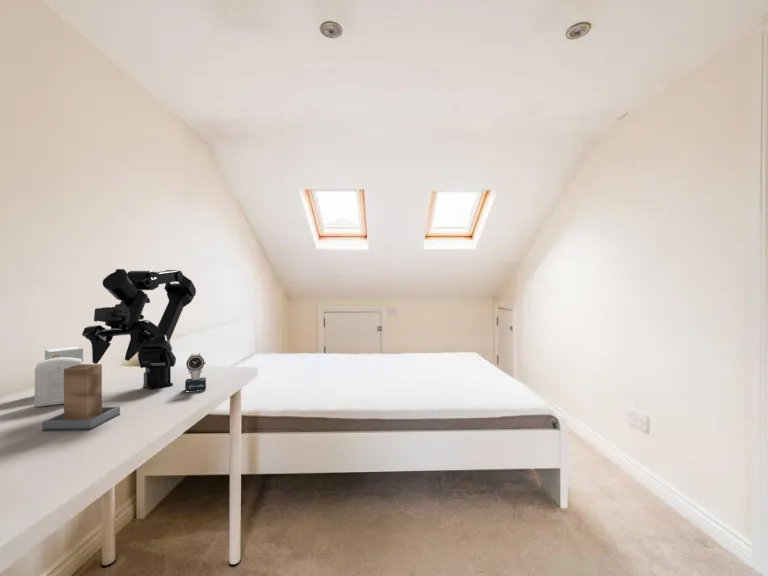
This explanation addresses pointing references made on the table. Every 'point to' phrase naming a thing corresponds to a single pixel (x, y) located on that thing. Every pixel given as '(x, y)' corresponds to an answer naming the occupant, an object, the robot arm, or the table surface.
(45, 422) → the tray
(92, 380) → the walnut block
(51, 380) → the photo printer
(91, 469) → the table surface
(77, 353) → the small box
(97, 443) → the table surface
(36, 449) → the table surface
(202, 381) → the watch
